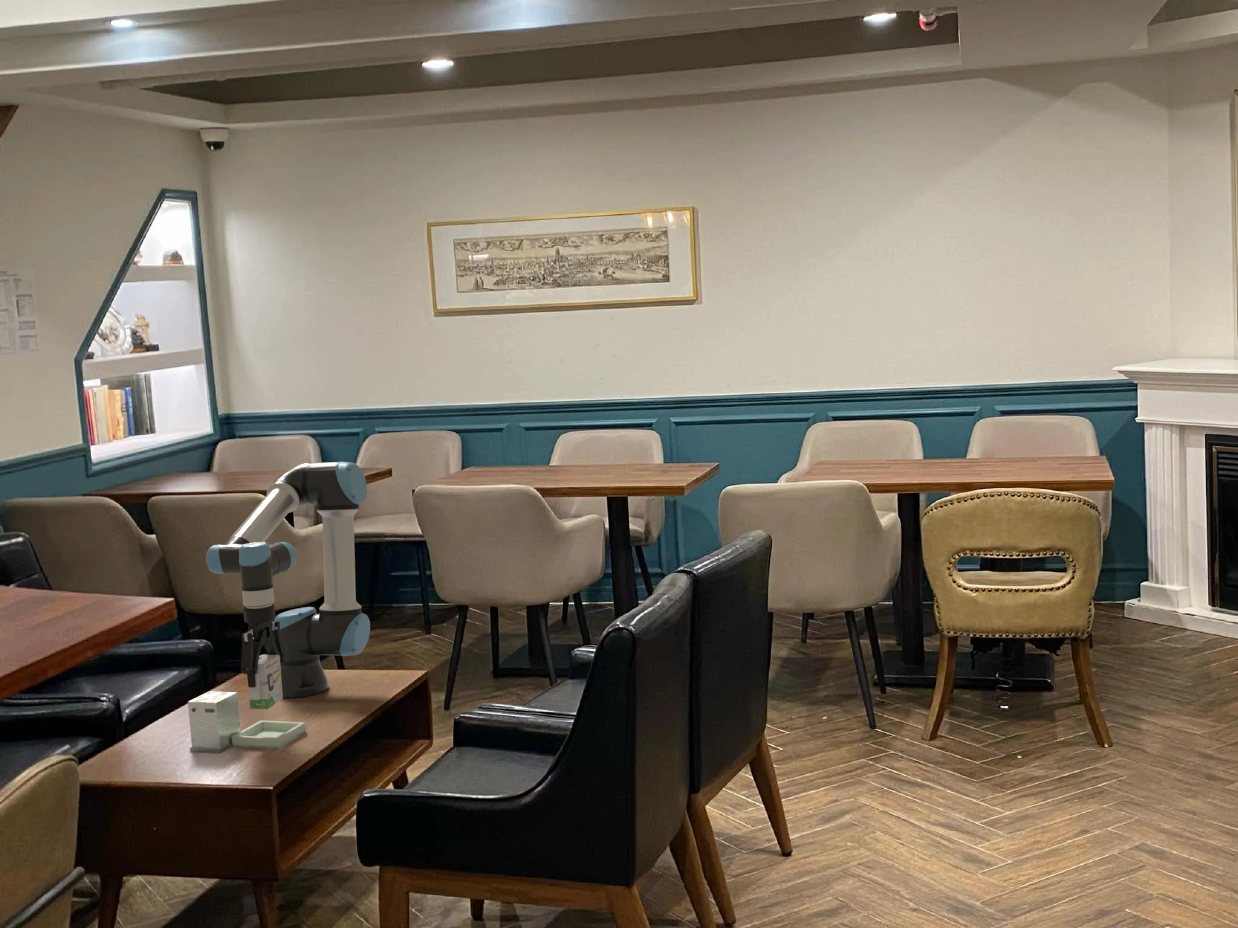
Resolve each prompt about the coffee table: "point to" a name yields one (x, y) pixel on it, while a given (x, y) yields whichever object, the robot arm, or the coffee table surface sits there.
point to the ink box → (268, 682)
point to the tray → (269, 734)
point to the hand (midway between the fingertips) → (265, 693)
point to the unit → (213, 721)
